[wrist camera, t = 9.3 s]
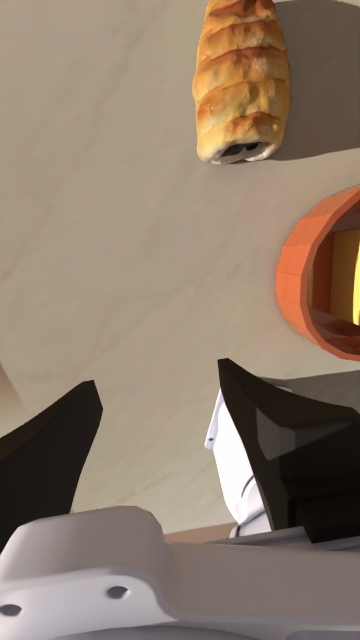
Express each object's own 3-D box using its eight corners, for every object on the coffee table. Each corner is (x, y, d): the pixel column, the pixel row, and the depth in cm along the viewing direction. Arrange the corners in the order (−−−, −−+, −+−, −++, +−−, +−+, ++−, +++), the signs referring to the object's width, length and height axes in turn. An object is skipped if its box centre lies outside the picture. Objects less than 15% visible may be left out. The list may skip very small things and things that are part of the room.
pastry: (181, 12, 14) (186, -70, 11) (279, 0, 15) (317, -85, 11) (196, 172, 17) (204, 151, 14) (278, 161, 17) (308, 137, 14)
